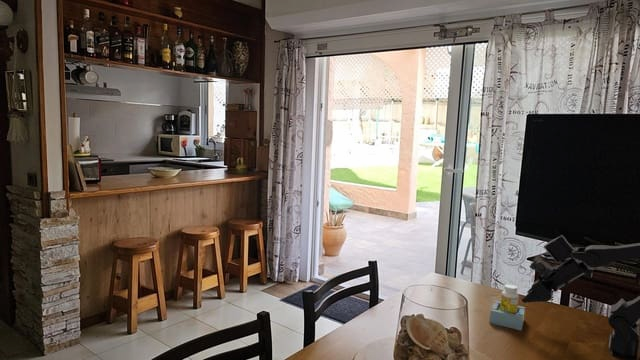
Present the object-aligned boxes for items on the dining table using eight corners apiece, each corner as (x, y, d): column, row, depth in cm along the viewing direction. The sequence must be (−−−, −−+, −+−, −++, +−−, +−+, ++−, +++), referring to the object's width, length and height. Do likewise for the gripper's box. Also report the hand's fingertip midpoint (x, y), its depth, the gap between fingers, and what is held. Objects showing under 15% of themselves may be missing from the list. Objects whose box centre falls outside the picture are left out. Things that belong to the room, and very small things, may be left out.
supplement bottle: (520, 316, 146) (522, 289, 145) (505, 316, 146) (508, 289, 144) (511, 309, 152) (513, 283, 151) (496, 309, 151) (499, 283, 150)
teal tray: (523, 319, 151) (525, 307, 151) (521, 330, 142) (522, 317, 142) (493, 312, 156) (494, 300, 155) (489, 322, 147) (490, 310, 147)
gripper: (552, 246, 147) (514, 270, 155) (542, 258, 132) (502, 284, 140) (576, 273, 144) (536, 296, 152) (569, 289, 129) (526, 314, 137)
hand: (525, 297), depth 145 cm, fingers open, 9 cm apart
